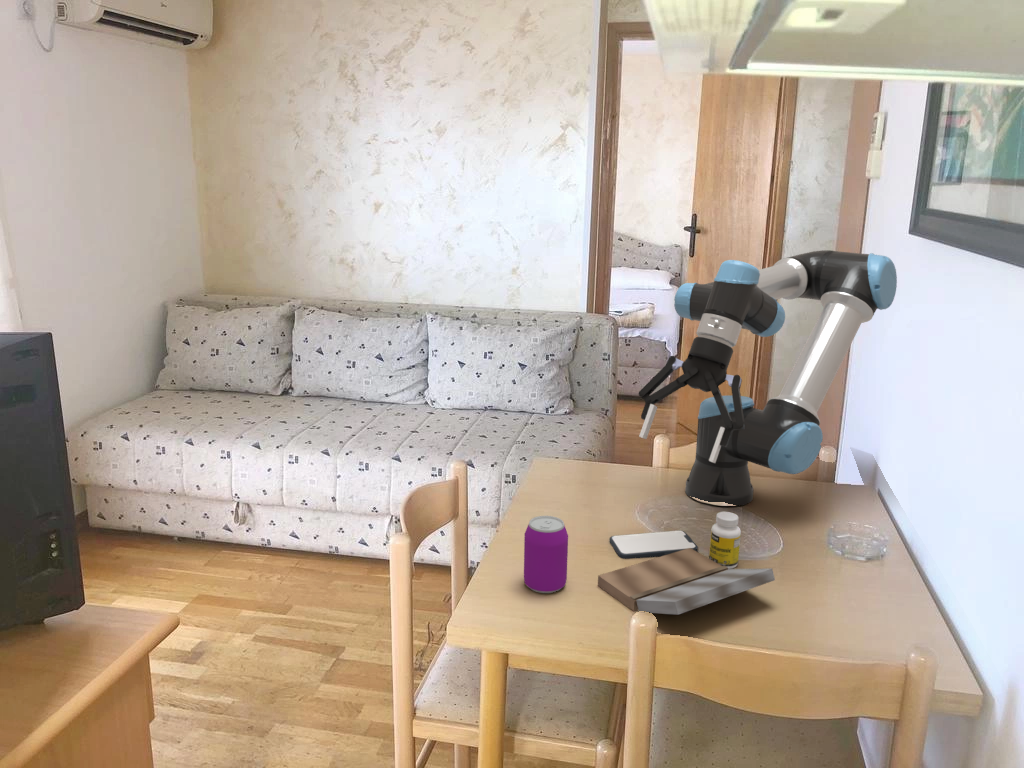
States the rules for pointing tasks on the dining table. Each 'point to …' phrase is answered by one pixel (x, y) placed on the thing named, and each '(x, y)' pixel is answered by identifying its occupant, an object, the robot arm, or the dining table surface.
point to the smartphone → (651, 544)
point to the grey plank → (705, 591)
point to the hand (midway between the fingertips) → (676, 449)
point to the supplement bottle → (725, 540)
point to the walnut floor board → (657, 576)
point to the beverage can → (545, 554)
